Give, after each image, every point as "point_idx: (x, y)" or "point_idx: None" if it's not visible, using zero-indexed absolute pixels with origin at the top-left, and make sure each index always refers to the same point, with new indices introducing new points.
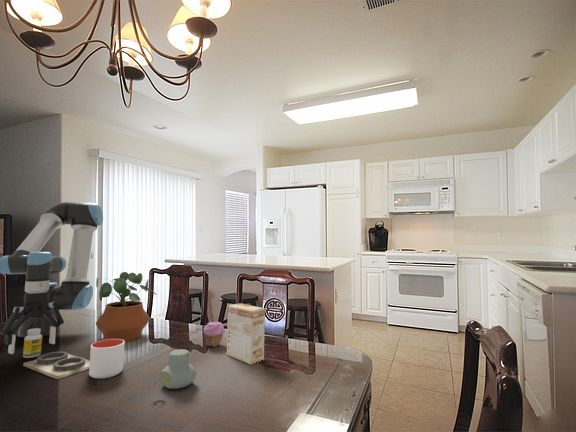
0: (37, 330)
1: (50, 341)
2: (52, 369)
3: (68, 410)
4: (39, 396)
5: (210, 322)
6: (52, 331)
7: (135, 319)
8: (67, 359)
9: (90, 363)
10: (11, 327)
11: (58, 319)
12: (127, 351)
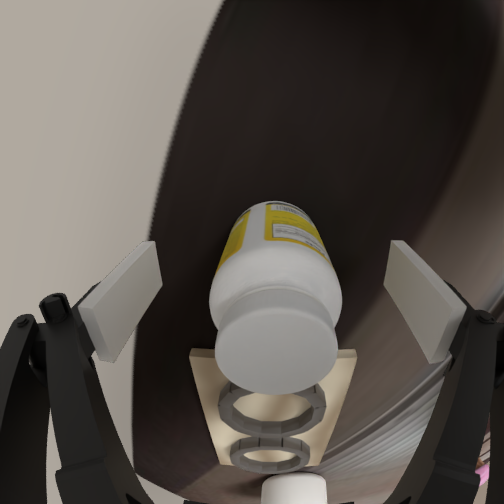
0: (280, 394)
1: (393, 262)
2: (230, 444)
3: (193, 491)
4: (176, 468)
5: (479, 485)
6: (420, 323)
7: None
8: (280, 448)
9: (261, 502)
10: (49, 360)
11: (495, 390)
12: None
